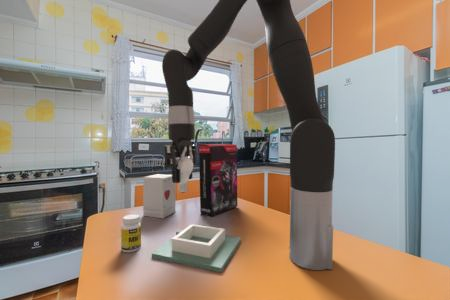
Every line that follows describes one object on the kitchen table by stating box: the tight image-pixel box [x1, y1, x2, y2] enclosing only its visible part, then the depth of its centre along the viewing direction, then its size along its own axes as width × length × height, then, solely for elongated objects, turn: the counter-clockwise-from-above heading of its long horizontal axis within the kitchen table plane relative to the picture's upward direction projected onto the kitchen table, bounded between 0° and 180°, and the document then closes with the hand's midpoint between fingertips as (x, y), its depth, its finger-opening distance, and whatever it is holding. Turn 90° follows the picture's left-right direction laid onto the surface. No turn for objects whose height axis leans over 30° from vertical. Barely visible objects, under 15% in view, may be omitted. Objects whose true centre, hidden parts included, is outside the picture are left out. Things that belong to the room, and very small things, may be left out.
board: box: [151, 223, 242, 273], centre depth 58 cm, size 18×16×4 cm
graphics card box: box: [198, 143, 238, 217], centre depth 90 cm, size 17×7×27 cm, turn 141°
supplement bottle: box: [120, 214, 142, 253], centre depth 58 cm, size 5×5×8 cm
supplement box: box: [142, 173, 176, 219], centre depth 85 cm, size 9×9×15 cm
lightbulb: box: [176, 156, 194, 194], centre depth 64 cm, size 6×6×11 cm
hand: (182, 180), depth 64 cm, fingers closed on lightbulb, 6 cm apart
